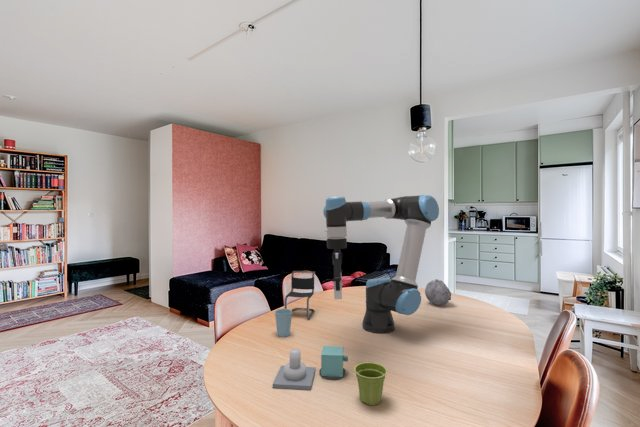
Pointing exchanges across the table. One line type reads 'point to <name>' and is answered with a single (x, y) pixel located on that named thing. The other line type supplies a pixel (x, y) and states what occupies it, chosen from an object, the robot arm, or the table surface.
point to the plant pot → (370, 381)
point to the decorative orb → (437, 292)
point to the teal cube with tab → (332, 361)
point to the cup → (283, 322)
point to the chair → (302, 284)
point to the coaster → (332, 376)
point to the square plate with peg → (294, 374)
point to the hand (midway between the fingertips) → (338, 293)
